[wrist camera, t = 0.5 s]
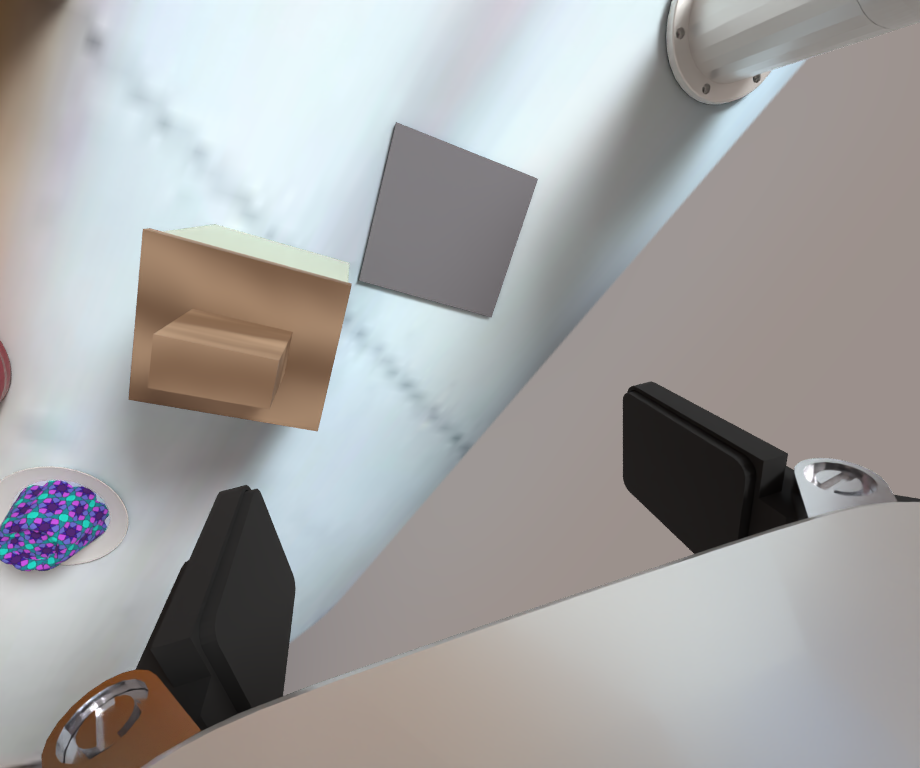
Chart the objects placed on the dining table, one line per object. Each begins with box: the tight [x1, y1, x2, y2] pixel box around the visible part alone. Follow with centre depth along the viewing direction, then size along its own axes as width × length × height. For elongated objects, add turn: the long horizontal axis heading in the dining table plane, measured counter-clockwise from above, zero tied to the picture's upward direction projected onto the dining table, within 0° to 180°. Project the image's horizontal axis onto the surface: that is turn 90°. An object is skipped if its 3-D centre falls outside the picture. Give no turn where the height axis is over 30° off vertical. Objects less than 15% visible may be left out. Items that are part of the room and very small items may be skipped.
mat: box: [359, 122, 538, 317], centre depth 42 cm, size 14×14×1 cm
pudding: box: [0, 466, 128, 571], centre depth 43 cm, size 12×12×5 cm
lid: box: [129, 228, 351, 431], centre depth 27 cm, size 11×12×8 cm
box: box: [163, 224, 349, 282], centre depth 36 cm, size 11×12×13 cm
